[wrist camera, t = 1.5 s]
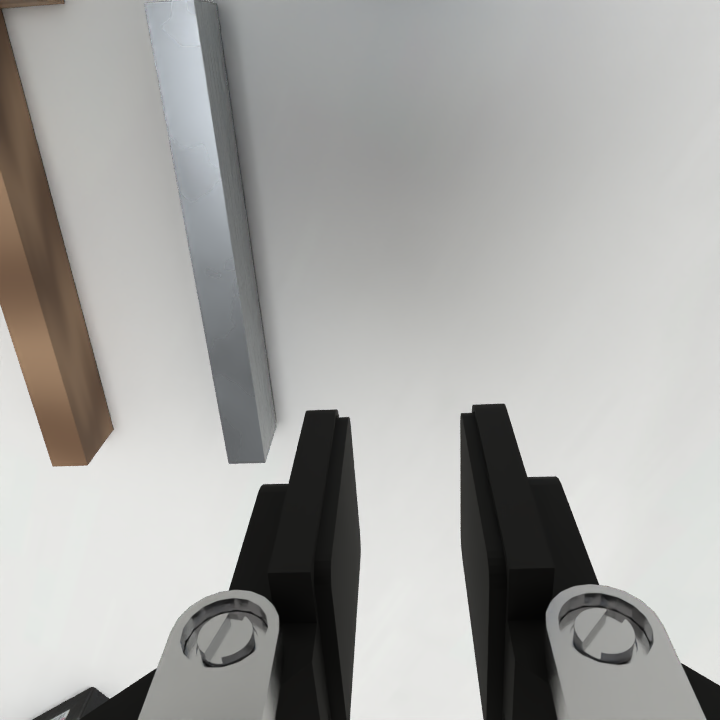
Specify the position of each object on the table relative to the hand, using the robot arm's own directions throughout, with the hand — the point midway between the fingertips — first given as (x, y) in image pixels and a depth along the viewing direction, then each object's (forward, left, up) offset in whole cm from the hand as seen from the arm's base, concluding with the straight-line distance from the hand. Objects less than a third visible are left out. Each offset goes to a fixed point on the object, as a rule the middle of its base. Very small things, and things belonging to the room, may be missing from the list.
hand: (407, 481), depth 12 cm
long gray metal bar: (0, -7, -17) cm, 18 cm away
